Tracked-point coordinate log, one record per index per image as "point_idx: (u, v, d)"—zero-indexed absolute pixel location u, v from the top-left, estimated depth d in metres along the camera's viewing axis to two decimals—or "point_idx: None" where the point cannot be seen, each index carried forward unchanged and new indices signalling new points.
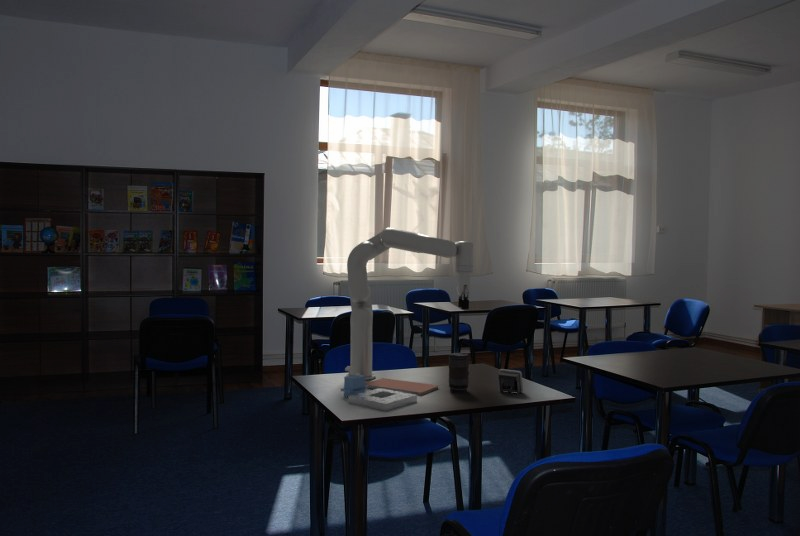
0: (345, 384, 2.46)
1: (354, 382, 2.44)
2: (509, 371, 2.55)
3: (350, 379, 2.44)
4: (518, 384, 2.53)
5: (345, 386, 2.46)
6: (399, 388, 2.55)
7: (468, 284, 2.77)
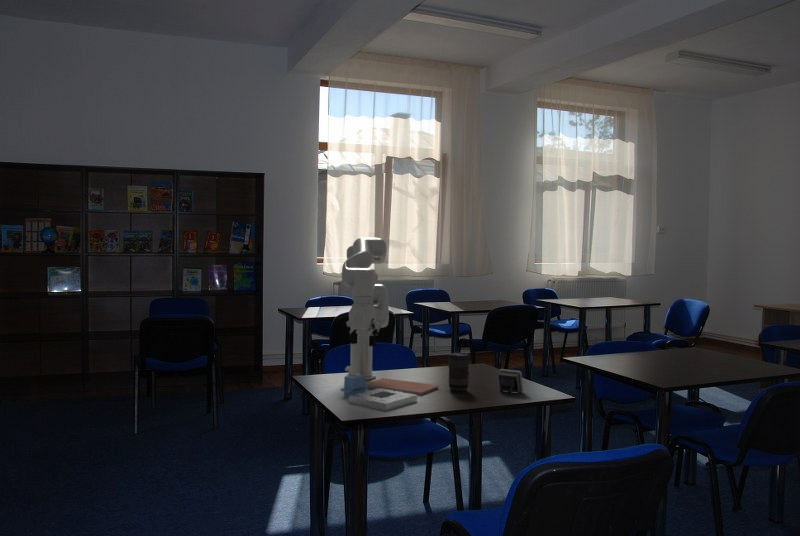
0: (345, 384, 2.46)
1: (354, 382, 2.44)
2: (509, 371, 2.55)
3: (350, 379, 2.44)
4: (518, 384, 2.53)
5: (345, 386, 2.46)
6: (399, 388, 2.55)
7: (374, 318, 2.46)
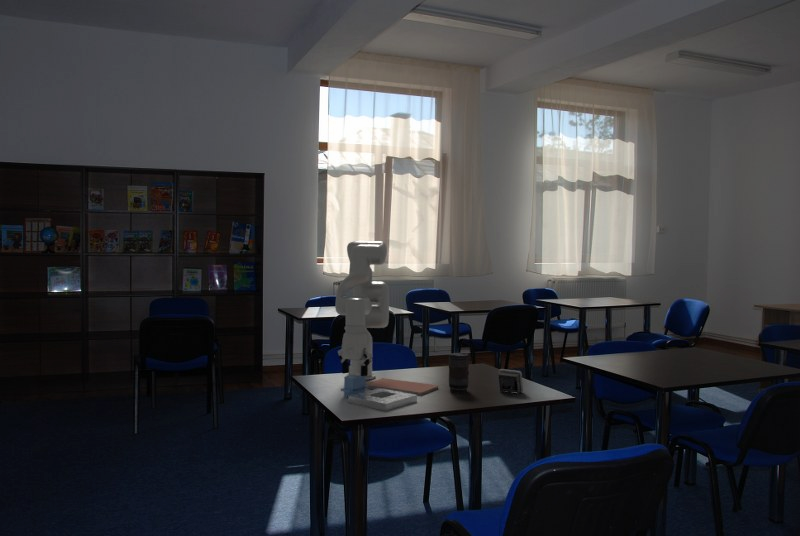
0: (345, 384, 2.46)
1: (354, 382, 2.44)
2: (509, 371, 2.55)
3: (350, 379, 2.44)
4: (518, 384, 2.53)
5: (345, 386, 2.46)
6: (399, 388, 2.55)
7: (366, 347, 2.44)
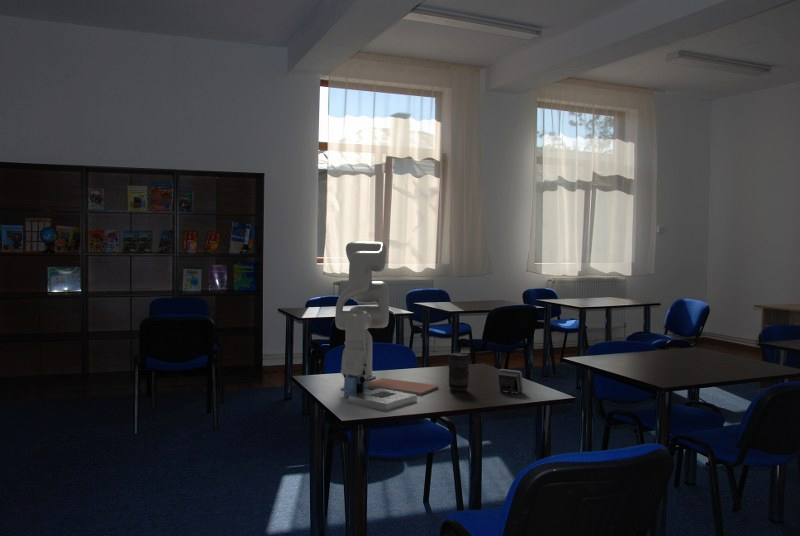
0: (345, 384, 2.46)
1: (354, 382, 2.44)
2: (509, 371, 2.55)
3: (350, 379, 2.44)
4: (518, 384, 2.53)
5: (345, 386, 2.46)
6: (399, 388, 2.55)
7: (366, 363, 2.45)
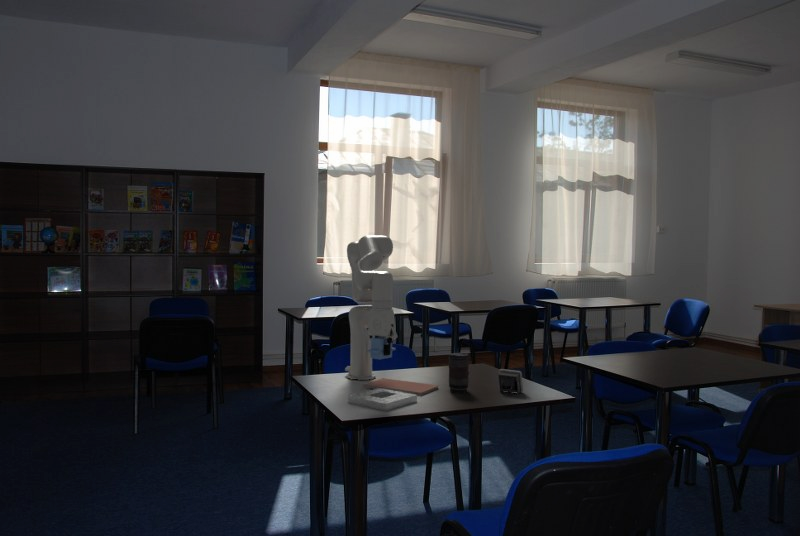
0: (372, 345, 2.37)
1: (381, 342, 2.35)
2: (509, 371, 2.55)
3: (377, 340, 2.35)
4: (518, 384, 2.53)
5: (372, 347, 2.37)
6: (399, 388, 2.55)
7: (394, 323, 2.36)
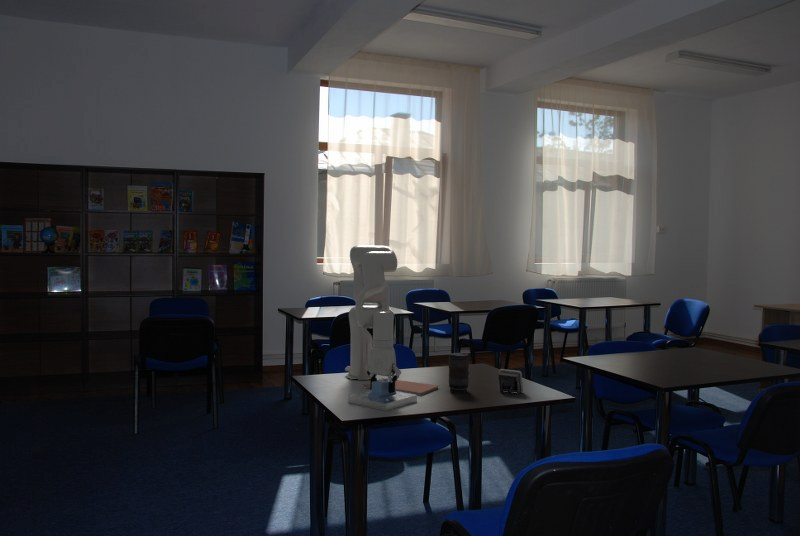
0: (372, 389, 2.37)
1: (382, 387, 2.35)
2: (509, 371, 2.55)
3: (378, 384, 2.35)
4: (518, 384, 2.53)
5: (372, 391, 2.37)
6: (399, 388, 2.55)
7: (395, 362, 2.36)
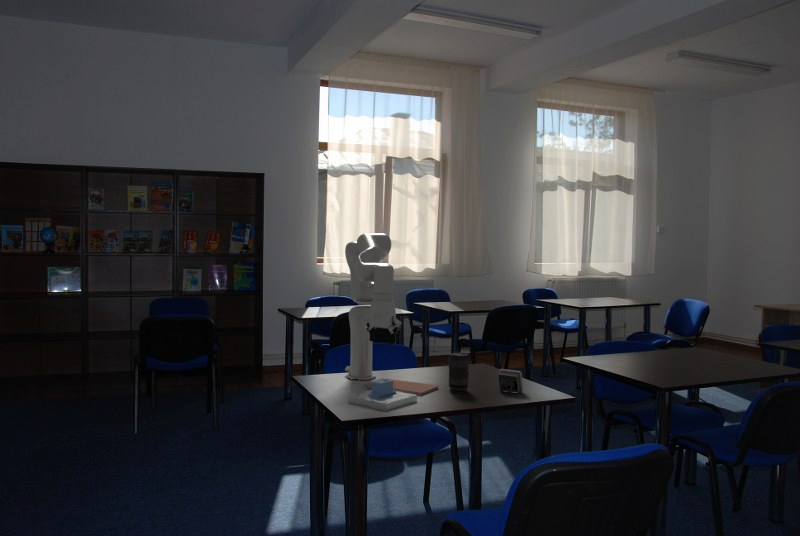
0: (372, 389, 2.37)
1: (382, 387, 2.35)
2: (509, 371, 2.55)
3: (378, 384, 2.35)
4: (518, 384, 2.53)
5: (372, 391, 2.37)
6: (399, 388, 2.55)
7: (395, 315, 2.40)
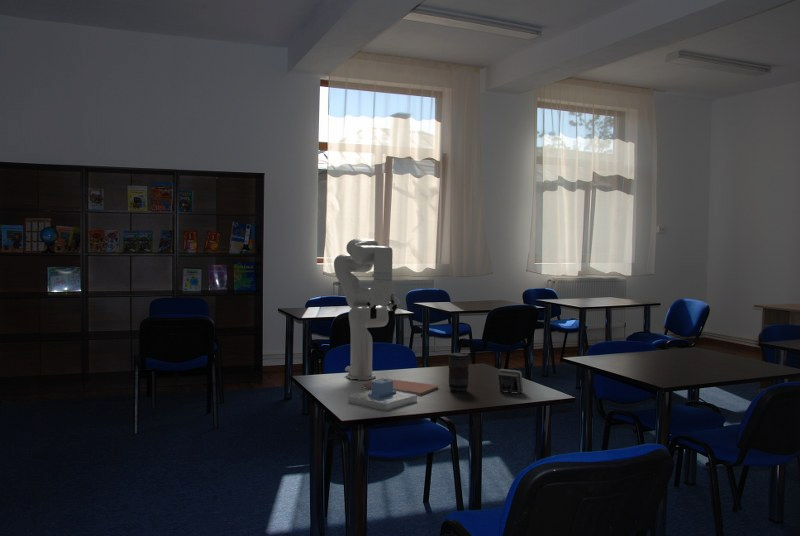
0: (372, 389, 2.37)
1: (382, 387, 2.35)
2: (509, 371, 2.55)
3: (378, 384, 2.35)
4: (518, 384, 2.53)
5: (372, 391, 2.37)
6: (399, 388, 2.55)
7: (394, 293, 2.55)
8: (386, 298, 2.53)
